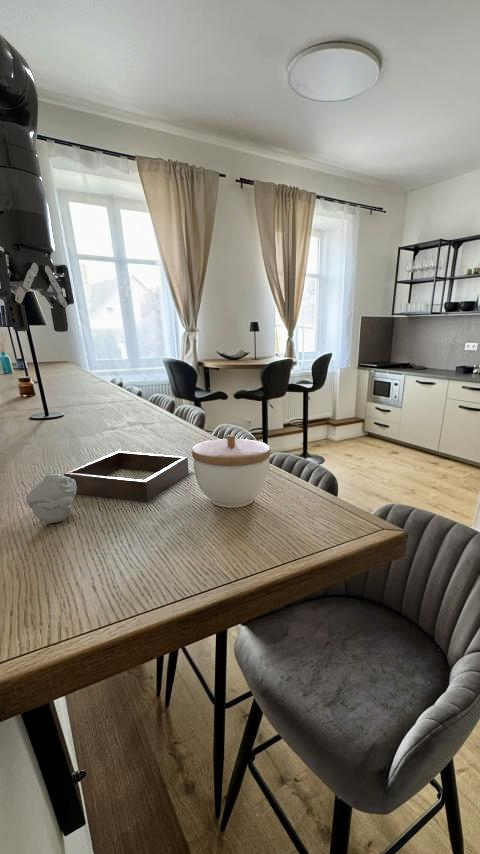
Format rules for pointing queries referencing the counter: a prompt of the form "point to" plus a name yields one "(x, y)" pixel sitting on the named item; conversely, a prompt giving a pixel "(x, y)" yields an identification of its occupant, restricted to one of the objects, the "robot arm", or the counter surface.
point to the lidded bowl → (231, 470)
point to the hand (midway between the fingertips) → (42, 331)
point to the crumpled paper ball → (52, 498)
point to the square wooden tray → (98, 484)
